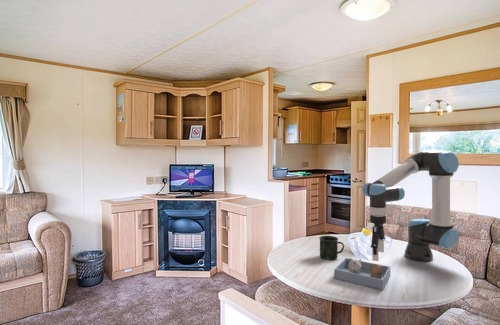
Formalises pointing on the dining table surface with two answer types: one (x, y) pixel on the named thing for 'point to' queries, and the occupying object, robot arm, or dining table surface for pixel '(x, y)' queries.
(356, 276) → the tote
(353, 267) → the game die
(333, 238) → the mug
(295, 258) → the dining table surface
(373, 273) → the walnut cylinder
